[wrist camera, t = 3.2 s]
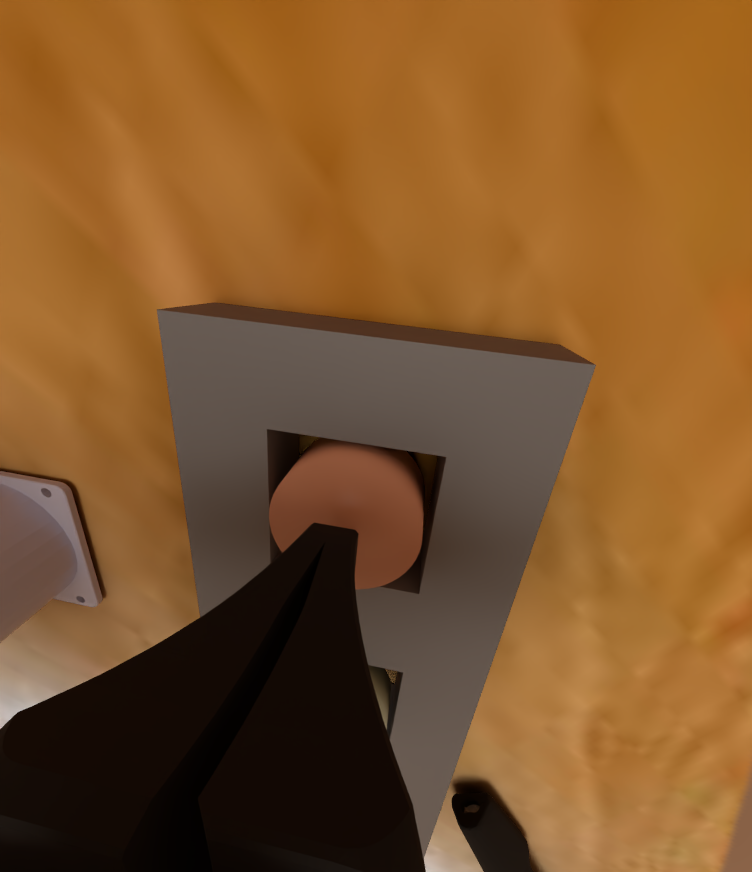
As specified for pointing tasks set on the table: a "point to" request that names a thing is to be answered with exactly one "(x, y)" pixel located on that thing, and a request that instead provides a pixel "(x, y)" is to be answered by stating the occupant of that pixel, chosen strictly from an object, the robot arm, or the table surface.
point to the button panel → (392, 428)
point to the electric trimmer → (491, 833)
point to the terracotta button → (355, 504)
